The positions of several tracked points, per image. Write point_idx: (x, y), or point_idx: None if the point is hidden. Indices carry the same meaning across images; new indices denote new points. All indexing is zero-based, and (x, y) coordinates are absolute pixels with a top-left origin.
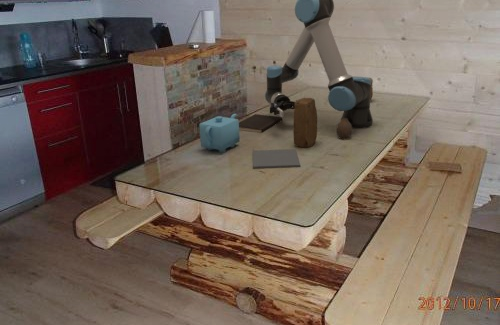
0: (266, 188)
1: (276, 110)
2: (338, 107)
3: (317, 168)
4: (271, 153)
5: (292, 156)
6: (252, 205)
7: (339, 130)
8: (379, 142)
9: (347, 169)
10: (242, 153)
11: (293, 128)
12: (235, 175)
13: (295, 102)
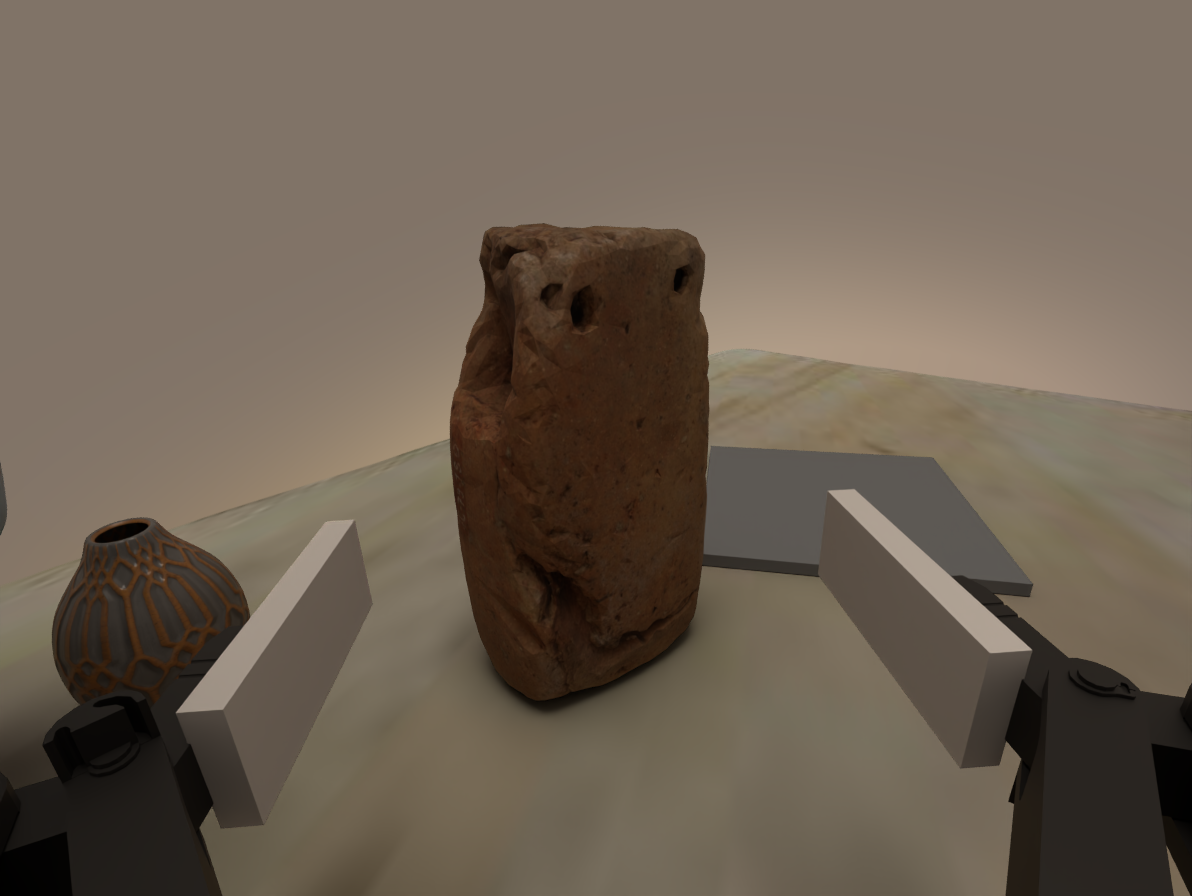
0: (839, 399)
1: (995, 608)
2: (3, 487)
3: None
4: None
5: (736, 493)
6: (863, 373)
7: (243, 597)
8: None
9: None
10: (1113, 597)
11: (706, 492)
12: (991, 444)
13: (695, 240)
